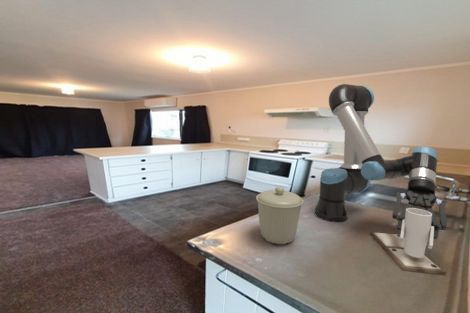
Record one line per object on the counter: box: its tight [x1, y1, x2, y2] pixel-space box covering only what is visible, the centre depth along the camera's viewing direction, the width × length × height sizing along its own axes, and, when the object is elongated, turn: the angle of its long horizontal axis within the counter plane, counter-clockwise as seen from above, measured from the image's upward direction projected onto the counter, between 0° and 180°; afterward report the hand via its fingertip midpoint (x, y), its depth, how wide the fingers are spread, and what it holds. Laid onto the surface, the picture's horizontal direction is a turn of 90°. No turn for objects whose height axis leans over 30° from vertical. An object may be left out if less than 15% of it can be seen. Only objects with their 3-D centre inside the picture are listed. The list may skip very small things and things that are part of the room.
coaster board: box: [369, 231, 447, 275], centre depth 79 cm, size 12×23×2 cm, turn 171°
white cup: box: [404, 207, 432, 258], centre depth 72 cm, size 7×7×15 cm
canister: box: [255, 186, 304, 245], centre depth 86 cm, size 18×18×21 cm
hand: (415, 243), depth 69 cm, fingers open, 6 cm apart
